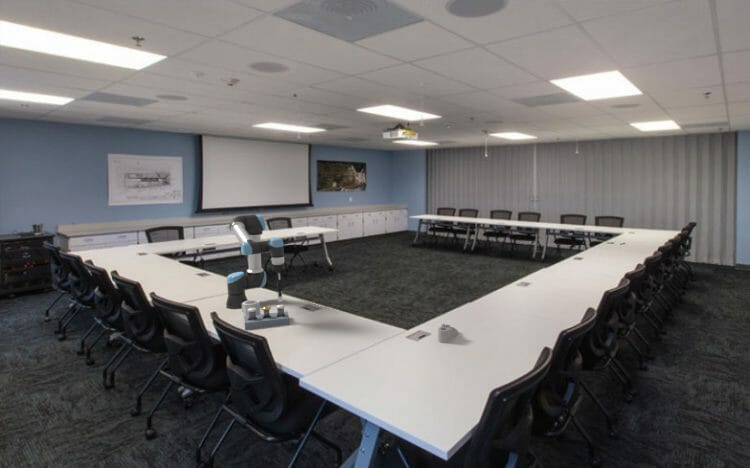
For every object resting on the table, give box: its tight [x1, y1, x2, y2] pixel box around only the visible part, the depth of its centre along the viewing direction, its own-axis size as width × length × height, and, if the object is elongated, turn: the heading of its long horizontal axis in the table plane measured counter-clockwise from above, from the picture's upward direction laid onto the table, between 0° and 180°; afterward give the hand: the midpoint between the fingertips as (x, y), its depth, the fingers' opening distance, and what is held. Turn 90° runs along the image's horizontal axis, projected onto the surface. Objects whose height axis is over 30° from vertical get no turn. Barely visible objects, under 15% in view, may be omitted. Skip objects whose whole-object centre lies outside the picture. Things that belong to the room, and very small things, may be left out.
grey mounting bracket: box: [437, 323, 459, 344], centre depth 225 cm, size 6×18×8 cm, turn 148°
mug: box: [241, 299, 261, 319], centre depth 269 cm, size 14×11×10 cm
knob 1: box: [248, 308, 256, 320], centre depth 252 cm, size 5×5×6 cm
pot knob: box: [261, 305, 271, 318], centre depth 254 cm, size 5×5×6 cm
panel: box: [244, 311, 291, 331], centre depth 255 cm, size 14×26×4 cm, turn 106°
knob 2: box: [276, 304, 286, 317], centre depth 257 cm, size 5×5×6 cm
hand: (280, 301), depth 256 cm, fingers closed
